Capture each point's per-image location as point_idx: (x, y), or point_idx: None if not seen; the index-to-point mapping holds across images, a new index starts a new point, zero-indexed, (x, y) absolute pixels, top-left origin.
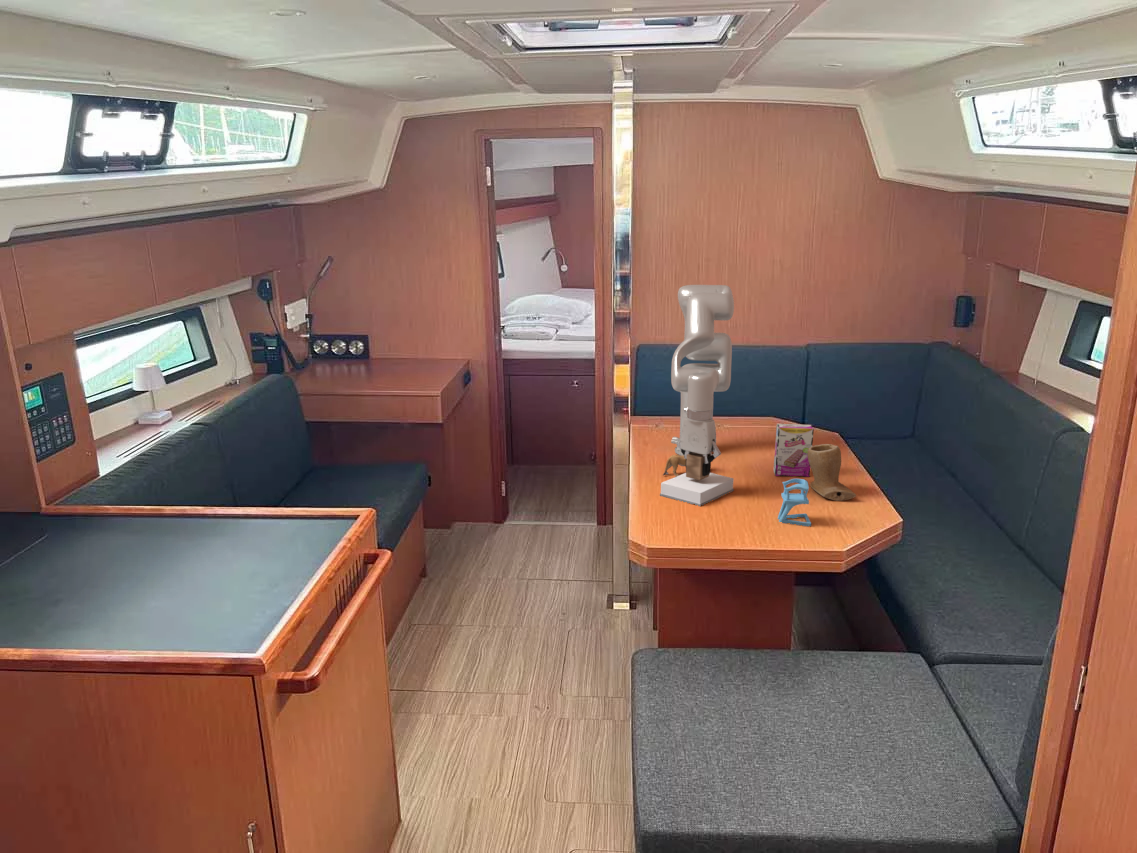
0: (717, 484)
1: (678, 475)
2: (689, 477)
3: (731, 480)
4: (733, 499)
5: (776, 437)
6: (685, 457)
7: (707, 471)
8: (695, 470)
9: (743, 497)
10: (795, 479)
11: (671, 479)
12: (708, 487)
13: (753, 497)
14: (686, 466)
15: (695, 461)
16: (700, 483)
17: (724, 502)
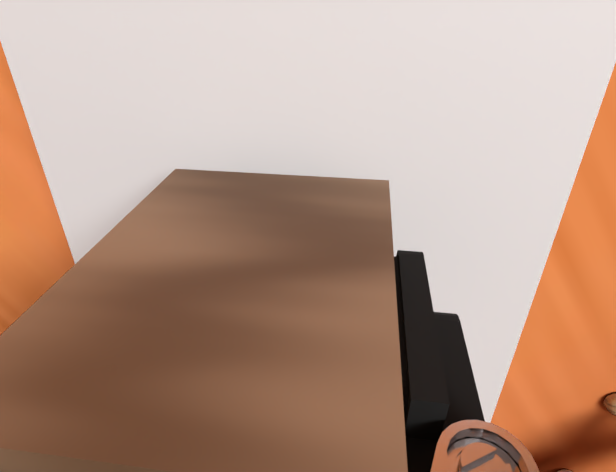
0: (82, 244)
1: (611, 402)
2: (333, 179)
3: None
4: (44, 218)
5: None
6: (488, 452)
7: None
8: (208, 231)
9: (41, 282)
10: None
11: (582, 90)
12: (58, 113)
13: (12, 310)
14: (390, 262)
15: (139, 342)
16: None
17: (26, 126)
